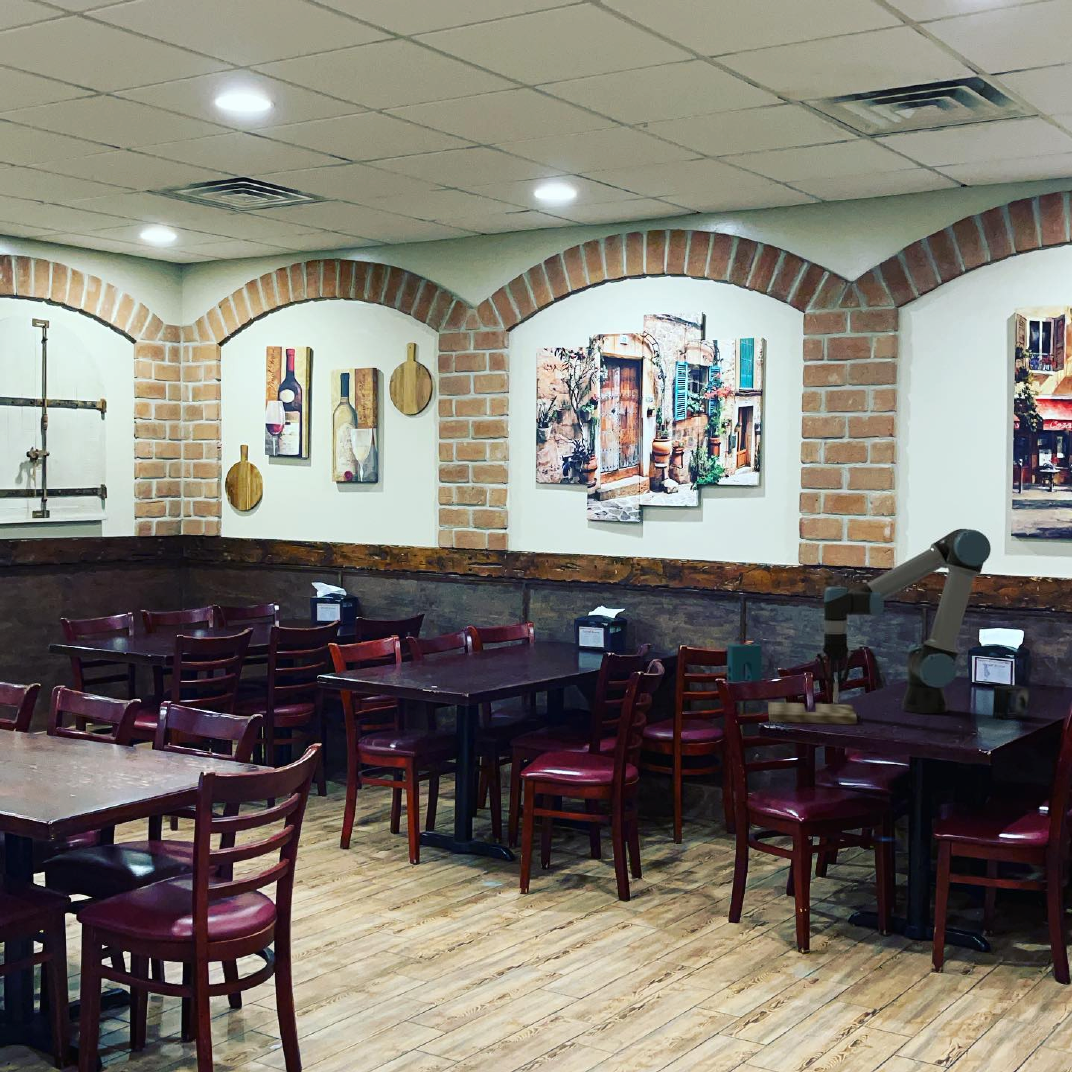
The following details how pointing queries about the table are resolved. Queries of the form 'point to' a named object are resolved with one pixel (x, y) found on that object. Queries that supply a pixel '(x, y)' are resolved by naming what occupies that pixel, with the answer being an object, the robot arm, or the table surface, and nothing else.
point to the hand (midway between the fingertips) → (835, 701)
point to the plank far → (786, 707)
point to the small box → (1010, 702)
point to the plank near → (834, 708)
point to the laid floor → (812, 717)
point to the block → (741, 656)
